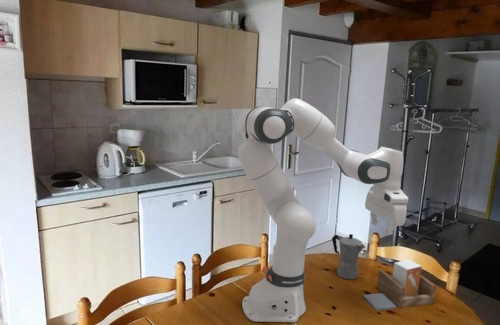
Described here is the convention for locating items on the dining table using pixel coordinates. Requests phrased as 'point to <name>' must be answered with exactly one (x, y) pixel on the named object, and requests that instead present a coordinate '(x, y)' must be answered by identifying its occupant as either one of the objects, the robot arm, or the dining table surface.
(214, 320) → the dining table surface
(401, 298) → the open wooden box
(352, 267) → the coffeepot
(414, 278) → the small box
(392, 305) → the mat
